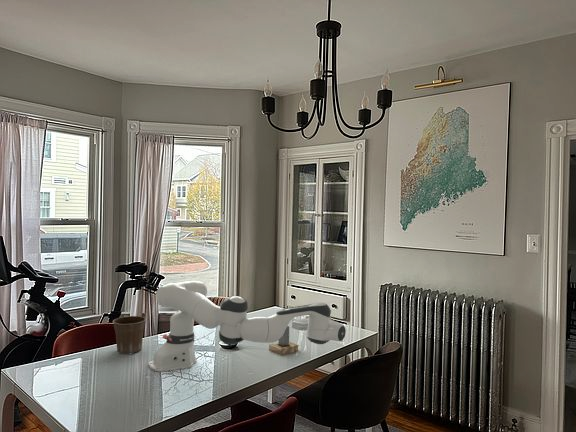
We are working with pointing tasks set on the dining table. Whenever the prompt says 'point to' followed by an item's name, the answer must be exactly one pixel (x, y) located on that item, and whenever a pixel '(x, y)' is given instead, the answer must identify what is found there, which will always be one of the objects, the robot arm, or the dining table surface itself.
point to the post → (284, 338)
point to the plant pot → (129, 333)
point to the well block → (283, 348)
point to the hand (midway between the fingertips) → (299, 319)
